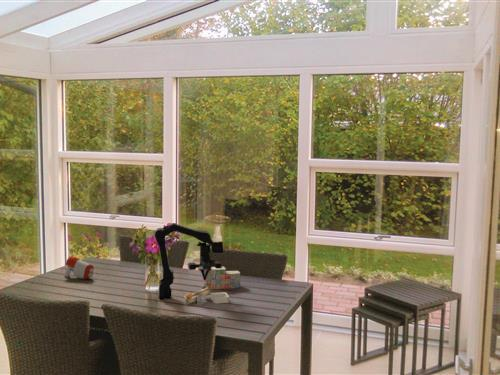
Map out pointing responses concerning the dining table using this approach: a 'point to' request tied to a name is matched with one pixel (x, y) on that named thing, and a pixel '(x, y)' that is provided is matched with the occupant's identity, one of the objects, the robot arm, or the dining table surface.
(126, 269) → the dining table surface
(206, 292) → the lever
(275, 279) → the dining table surface
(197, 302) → the fulcrum
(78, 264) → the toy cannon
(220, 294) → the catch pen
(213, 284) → the stack of blocks
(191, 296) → the ball
